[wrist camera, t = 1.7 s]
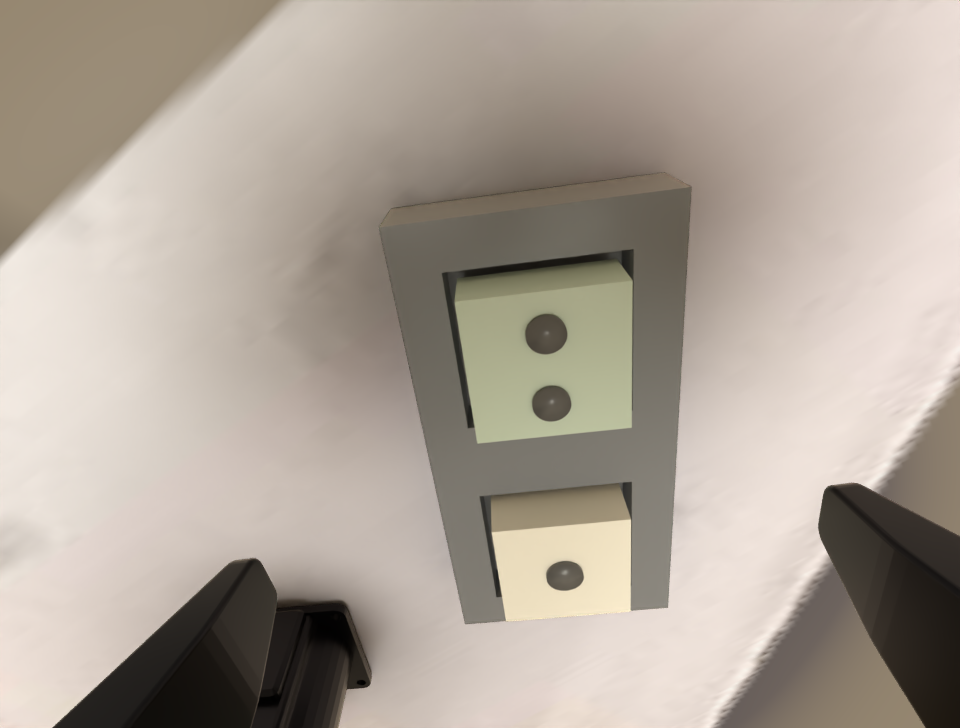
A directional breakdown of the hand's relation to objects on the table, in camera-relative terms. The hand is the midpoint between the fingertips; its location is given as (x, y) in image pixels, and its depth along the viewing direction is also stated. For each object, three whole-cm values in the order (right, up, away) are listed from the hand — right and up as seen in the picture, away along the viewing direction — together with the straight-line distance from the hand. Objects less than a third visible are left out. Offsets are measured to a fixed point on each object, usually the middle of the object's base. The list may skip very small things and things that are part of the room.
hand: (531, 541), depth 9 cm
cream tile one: (+2, -4, +14) cm, 15 cm away
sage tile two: (+1, +4, +9) cm, 10 cm away
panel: (+2, +1, +13) cm, 13 cm away
